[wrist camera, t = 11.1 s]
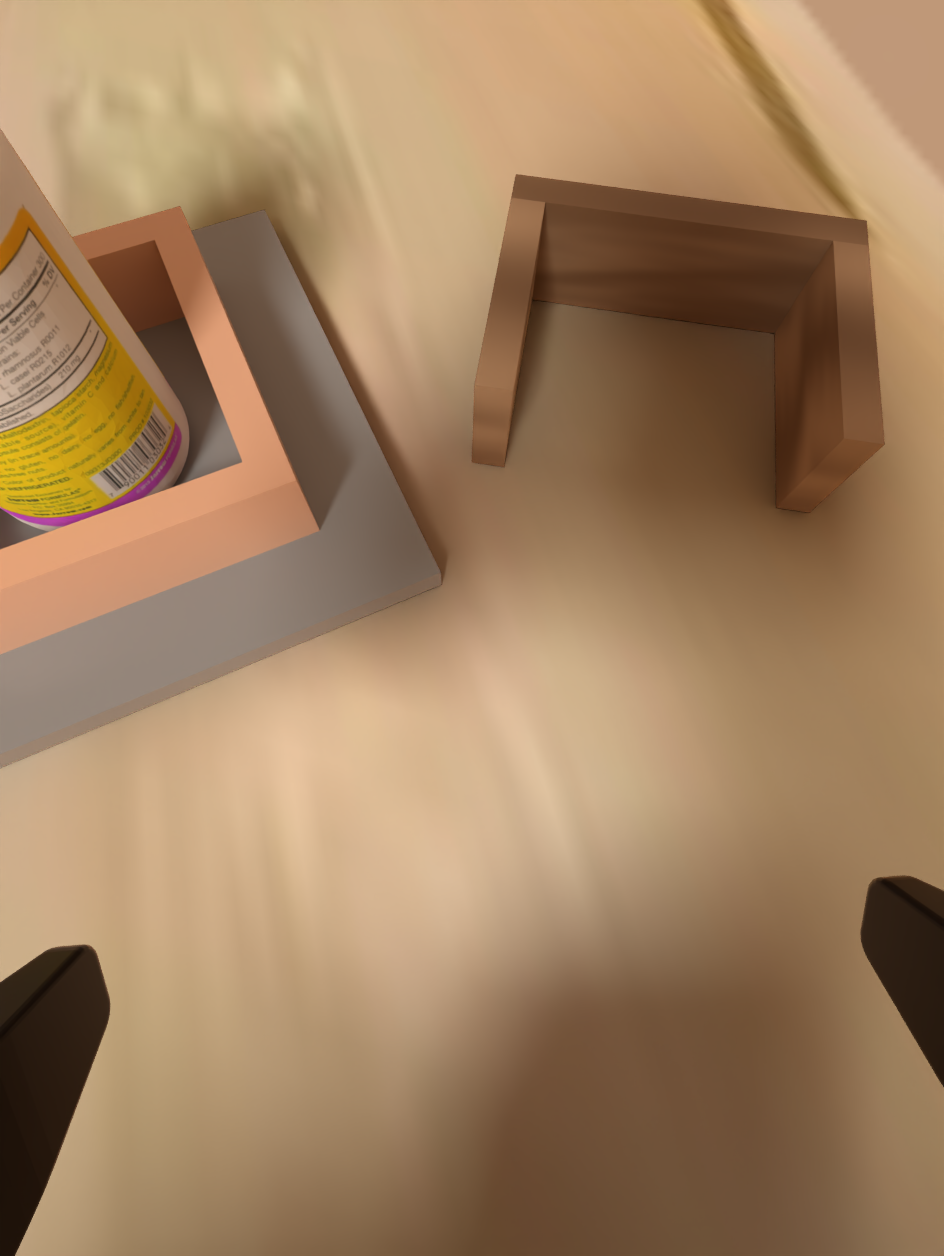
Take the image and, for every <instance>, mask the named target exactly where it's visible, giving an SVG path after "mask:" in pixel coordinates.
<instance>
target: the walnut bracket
mask: <svg viewBox="0 0 944 1256" xmlns="http://www.w3.org/2000/svg"><path fill="white" fill-rule="evenodd" d="M532 300H539V301H546V302H553V303H560V304H567V305H575V306H582V307H589V308H596V309H603V310H610V311H618V312H625V313H632V314H639V315H646V316H653V317H661V318H668V319H675V320H682V321H689V322H696V323H704V324H711V325H718V326H725V327H732V328H739V329H747V330H754V331H761V332H768V333H775V427H776V508H782V509H789V510H796V511H802V512H809V513H810V512H811V511H812V510H813V509H814V508H815V507H816V506H817V505H818V504H819V503H821V502H822V501H823V500H824V499H825V498H826V497H827V496H828V495H829V494H830V493H832V492H833V491H834V490H835V489H836V488H837V487H838V486H839V485H840V484H841V483H843V482H844V481H845V480H846V479H847V478H848V477H849V476H850V475H851V474H852V473H854V472H855V471H856V470H857V469H858V468H859V467H860V466H861V465H862V464H863V463H865V462H866V461H867V460H868V459H869V458H870V457H871V456H872V455H873V454H874V453H876V452H877V451H878V450H879V449H880V448H881V447H882V446H883V445H884V444H885V443H884V431H883V419H882V406H881V394H880V381H879V369H878V356H877V344H876V332H875V319H874V307H873V294H872V282H871V269H870V257H869V245H868V232H867V221H865V220H857V219H850V218H842V217H835V216H827V215H820V214H812V213H804V212H797V211H789V210H782V209H774V208H767V207H759V206H752V205H744V204H737V203H729V202H721V201H714V200H706V199H699V198H691V197H684V196H676V195H669V194H661V193H653V192H646V191H638V190H631V189H623V188H616V187H608V186H601V185H593V184H586V183H578V182H570V181H563V180H555V179H548V178H540V177H533V176H525V175H518V174H516V177H515V182H514V187H513V192H512V197H511V202H510V207H509V212H508V217H507V222H506V227H505V232H504V237H503V243H502V248H501V253H500V258H499V263H498V268H497V273H496V278H495V283H494V288H493V293H492V298H491V303H490V309H489V314H488V319H487V324H486V329H485V334H484V339H483V344H482V349H481V354H480V359H479V364H478V370H477V375H476V380H475V385H474V414H473V444H472V462H474V463H481V464H487V465H494V466H501V467H504V464H505V458H506V452H507V446H508V440H509V434H510V428H511V422H512V416H513V410H514V404H515V398H516V392H517V386H518V380H519V374H520V368H521V362H522V356H523V351H524V345H525V339H526V333H527V327H528V321H529V315H530V309H531V303H532Z"/></svg>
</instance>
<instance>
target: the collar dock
mask: <svg viewBox="0 0 944 1256" xmlns="http://www.w3.org/2000/svg"><path fill="white" fill-rule="evenodd" d="M72 238H73V240H74V241H75V243H76V244H77V246H78V248H79V249H80V251H81V252H82V254H83V255H84V257H85V258H86V260H87V261H88V263H89V264H90V266H91V267H92V269H93V270H94V272H95V273H96V275H97V276H98V278H99V279H100V281H101V282H102V284H103V285H104V287H105V288H106V290H107V291H108V293H109V294H110V296H111V297H112V299H113V300H114V302H115V303H116V305H117V306H118V308H119V309H120V311H121V312H122V314H123V315H124V317H125V318H126V320H127V321H128V323H129V324H130V326H131V327H132V329H133V330H134V332H135V333H136V335H137V336H138V338H139V339H140V341H141V342H142V344H143V345H144V347H145V348H146V350H147V351H148V353H149V354H150V356H151V357H152V359H153V360H154V362H155V363H156V365H157V366H158V368H159V369H160V371H161V372H162V374H163V376H164V377H165V379H166V380H167V382H168V384H169V385H170V387H171V388H172V390H173V392H174V393H175V395H176V396H177V398H178V400H179V401H180V403H181V405H182V407H183V409H184V412H185V415H186V417H187V421H188V426H189V438H190V439H189V449H188V455H187V459H186V462H185V464H184V467H183V469H182V472H181V474H180V475H179V477H178V479H177V481H176V482H175V484H174V485H173V487H172V488H169V489H166V490H164V491H161V492H158V493H155V494H153V495H150V496H147V497H144V498H142V499H139V500H136V501H133V502H130V503H128V504H125V505H122V506H119V507H117V508H114V509H111V510H108V511H106V512H103V513H100V514H97V515H94V516H92V517H89V518H86V519H83V520H81V521H78V522H75V523H72V524H69V525H67V526H64V527H61V528H58V529H56V530H53V531H50V532H49V531H44V530H41V529H38V528H35V527H33V526H30V525H28V524H26V523H23V522H21V521H20V520H18V519H16V518H15V517H13V516H12V515H10V514H9V513H7V512H6V511H4V510H2V509H1V508H0V768H2V767H4V766H7V765H9V764H12V763H14V762H16V761H19V760H21V759H24V758H26V757H28V756H31V755H33V754H36V753H38V752H40V751H43V750H45V749H48V748H50V747H53V746H55V745H57V744H60V743H62V742H65V741H67V740H69V739H72V738H74V737H77V736H79V735H81V734H84V733H86V732H89V731H91V730H93V729H96V728H98V727H101V726H103V725H105V724H108V723H110V722H113V721H115V720H117V719H120V718H122V717H125V716H127V715H129V714H132V713H134V712H137V711H139V710H141V709H144V708H146V707H149V706H151V705H153V704H156V703H158V702H161V701H163V700H166V699H168V698H170V697H173V696H175V695H178V694H180V693H182V692H185V691H187V690H190V689H192V688H194V687H197V686H199V685H202V684H204V683H206V682H209V681H211V680H214V679H216V678H218V677H221V676H223V675H226V674H228V673H230V672H233V671H235V670H238V669H240V668H242V667H245V666H247V665H250V664H252V663H254V662H257V661H259V660H262V659H264V658H266V657H269V656H271V655H274V654H276V653H278V652H281V651H283V650H286V649H288V648H291V647H293V646H295V645H298V644H300V643H303V642H305V641H307V640H310V639H312V638H315V637H317V636H319V635H322V634H324V633H327V632H329V631H331V630H334V629H336V628H339V627H341V626H343V625H346V624H348V623H351V622H353V621H355V620H358V619H360V618H363V617H365V616H367V615H370V614H372V613H375V612H377V611H379V610H382V609H384V608H387V607H389V606H391V605H394V604H396V603H399V602H401V601H404V600H406V599H408V598H411V597H413V596H416V595H418V594H420V593H423V592H425V591H428V590H430V589H432V588H435V587H437V586H440V585H442V582H441V572H440V570H439V568H438V566H437V564H436V562H435V560H434V557H433V555H432V553H431V551H430V549H429V547H428V545H427V543H426V541H425V539H424V537H423V535H422V533H421V531H420V529H419V527H418V525H417V522H416V520H415V518H414V516H413V514H412V512H411V510H410V508H409V506H408V504H407V502H406V500H405V498H404V496H403V494H402V492H401V490H400V487H399V485H398V483H397V481H396V479H395V477H394V475H393V473H392V471H391V469H390V467H389V465H388V463H387V461H386V459H385V457H384V455H383V452H382V450H381V448H380V446H379V444H378V442H377V440H376V438H375V436H374V434H373V432H372V430H371V428H370V426H369V424H368V422H367V420H366V417H365V415H364V413H363V411H362V409H361V407H360V405H359V403H358V401H357V399H356V397H355V395H354V393H353V391H352V389H351V387H350V385H349V382H348V380H347V378H346V376H345V374H344V372H343V370H342V368H341V366H340V364H339V362H338V360H337V358H336V356H335V354H334V352H333V350H332V347H331V345H330V343H329V341H328V339H327V337H326V335H325V333H324V331H323V329H322V327H321V325H320V323H319V321H318V319H317V317H316V315H315V312H314V310H313V308H312V306H311V304H310V302H309V300H308V298H307V296H306V294H305V292H304V290H303V288H302V286H301V284H300V282H299V280H298V277H297V275H296V273H295V271H294V269H293V267H292V265H291V263H290V261H289V259H288V257H287V255H286V253H285V251H284V249H283V247H282V245H281V242H280V240H279V238H278V236H277V234H276V232H275V230H274V228H273V226H272V224H271V222H270V220H269V218H268V216H267V214H266V212H265V210H261V211H258V212H254V213H251V214H248V215H244V216H241V217H237V218H234V219H231V220H227V221H224V222H220V223H217V224H214V225H210V226H207V227H203V228H200V229H197V230H193V231H191V230H190V227H189V225H188V223H187V221H186V218H185V216H184V214H183V212H182V210H181V207H180V206H179V207H175V208H172V209H168V210H165V211H161V212H158V213H155V214H151V215H148V216H144V217H141V218H137V219H134V220H130V221H127V222H123V223H120V224H116V225H113V226H109V227H106V228H102V229H99V230H95V231H92V232H88V233H85V234H81V235H78V236H74V237H72Z"/></svg>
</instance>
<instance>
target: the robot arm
mask: <svg viewBox="0 0 944 1256" xmlns="http://www.w3.org/2000/svg"><path fill="white" fill-rule="evenodd" d="M861 942H862V946H863V949H864V952H865V954H866V956H867V958H868V960H869V962H870V963H871V965H872V967H873V969H874V970H875V972H876V974H877V975H878V977H879V979H880V980H881V982H882V984H883V986H884V987H885V989H886V991H887V992H888V994H889V996H890V997H891V999H892V1001H893V1003H894V1004H895V1006H896V1008H897V1009H898V1011H899V1013H900V1015H901V1016H902V1018H903V1020H904V1021H905V1023H906V1025H907V1026H908V1028H909V1030H910V1032H911V1033H912V1035H913V1037H914V1038H915V1040H916V1042H917V1043H918V1045H919V1047H920V1049H921V1050H922V1052H923V1054H924V1055H925V1057H926V1059H927V1060H928V1062H929V1064H930V1066H931V1067H932V1069H933V1071H934V1072H935V1074H936V1076H937V1077H938V1079H939V1081H940V1082H941V1084H942V1085H943V1087H944V891H943V890H941V889H938V888H936V887H934V886H932V885H930V884H928V883H925V882H923V881H921V880H919V879H917V878H914V877H911V876H891V877H879V878H876V879H874V880H873V881H872V882H871V883H870V884H869V887H868V891H867V897H866V903H865V909H864V914H863V920H862V926H861ZM109 1015H110V998H109V994H108V991H107V987H106V984H105V980H104V977H103V973H102V970H101V966H100V963H99V959H98V956H97V953H96V951H95V950H94V949H93V948H92V947H91V946H89V945H72V946H60V947H55V948H51V949H49V950H47V951H45V952H43V953H42V954H40V955H39V956H38V957H36V958H35V959H33V960H32V961H30V962H29V963H28V964H26V965H25V966H23V967H22V968H20V969H19V970H17V971H16V972H15V973H13V974H12V975H10V976H9V977H7V978H6V979H4V980H3V981H2V982H0V1256H15V1254H16V1252H17V1250H18V1248H19V1246H20V1244H21V1241H22V1239H23V1237H24V1235H25V1233H26V1231H27V1229H28V1226H29V1224H30V1222H31V1220H32V1218H33V1215H34V1213H35V1211H36V1209H37V1206H38V1204H39V1202H40V1200H41V1197H42V1195H43V1193H44V1191H45V1188H46V1186H47V1183H48V1181H49V1178H50V1176H51V1173H52V1171H53V1168H54V1166H55V1163H56V1161H57V1158H58V1155H59V1152H60V1150H61V1147H62V1144H63V1142H64V1139H65V1136H66V1134H67V1131H68V1128H69V1126H70V1123H71V1120H72V1118H73V1115H74V1112H75V1110H76V1107H77V1104H78V1102H79V1099H80V1096H81V1094H82V1091H83V1088H84V1086H85V1083H86V1080H87V1078H88V1075H89V1072H90V1070H91V1067H92V1064H93V1062H94V1059H95V1056H96V1054H97V1051H98V1048H99V1046H100V1043H101V1040H102V1038H103V1035H104V1032H105V1030H106V1027H107V1024H108V1020H109Z"/></svg>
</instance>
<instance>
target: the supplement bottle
mask: <svg viewBox="0 0 944 1256" xmlns="http://www.w3.org/2000/svg"><path fill="white" fill-rule="evenodd" d="M189 439H190V438H189V426H188V421H187V417H186V415H185V412H184V409H183V407H182V405H181V403H180V401H179V400H178V398H177V396H176V395H175V393H174V392H173V390H172V388H171V387H170V385H169V384H168V382H167V380H166V379H165V377H164V376H163V374H162V372H161V371H160V369H159V368H158V366H157V365H156V363H155V362H154V360H153V359H152V357H151V356H150V354H149V353H148V351H147V350H146V348H145V347H144V345H143V344H142V342H141V341H140V339H139V338H138V336H137V335H136V333H135V332H134V330H133V329H132V327H131V326H130V324H129V323H128V321H127V320H126V318H125V317H124V315H123V314H122V312H121V311H120V309H119V308H118V306H117V305H116V303H115V302H114V300H113V299H112V297H111V296H110V294H109V293H108V291H107V290H106V288H105V287H104V285H103V284H102V282H101V281H100V279H99V278H98V276H97V275H96V273H95V272H94V270H93V269H92V267H91V266H90V264H89V263H88V261H87V260H86V258H85V257H84V255H83V254H82V252H81V251H80V249H79V248H78V246H77V244H76V243H75V241H74V240H73V238H72V237H71V235H70V234H69V232H68V231H67V229H66V228H65V226H64V225H63V223H62V222H61V220H60V219H59V217H58V216H57V214H56V213H55V211H54V210H53V208H52V207H51V205H50V203H49V202H48V200H47V199H46V197H45V196H44V194H43V193H42V191H41V190H40V188H39V186H38V185H37V183H36V182H35V180H34V179H33V177H32V176H31V174H30V173H29V171H28V169H27V168H26V166H25V165H24V163H23V162H22V160H21V159H20V157H19V156H18V154H17V153H16V151H15V150H14V148H13V147H12V145H11V144H10V142H9V141H8V139H7V138H6V136H5V135H4V133H3V132H2V130H1V129H0V508H1V509H2V510H4V511H6V512H7V513H9V514H10V515H12V516H13V517H15V518H16V519H18V520H20V521H21V522H23V523H26V524H28V525H30V526H33V527H35V528H38V529H41V530H44V531H49V532H50V531H53V530H56V529H58V528H61V527H64V526H67V525H69V524H72V523H75V522H78V521H81V520H83V519H86V518H89V517H92V516H94V515H97V514H100V513H103V512H106V511H108V510H111V509H114V508H117V507H119V506H122V505H125V504H128V503H130V502H133V501H136V500H139V499H142V498H144V497H147V496H150V495H153V494H155V493H158V492H161V491H164V490H166V489H169V488H172V487H173V485H174V484H175V482H176V481H177V479H178V477H179V475H180V474H181V472H182V469H183V467H184V464H185V462H186V459H187V455H188V449H189Z"/></svg>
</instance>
